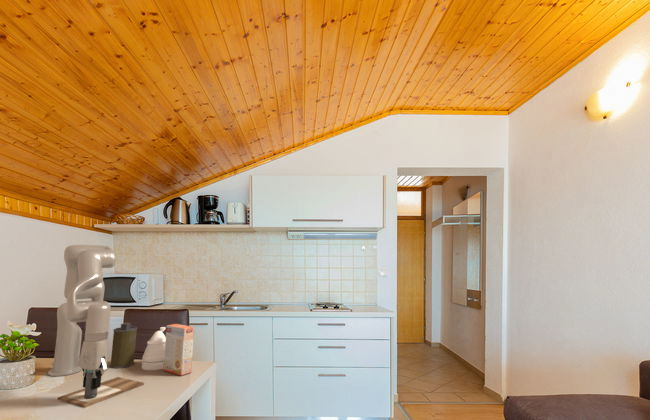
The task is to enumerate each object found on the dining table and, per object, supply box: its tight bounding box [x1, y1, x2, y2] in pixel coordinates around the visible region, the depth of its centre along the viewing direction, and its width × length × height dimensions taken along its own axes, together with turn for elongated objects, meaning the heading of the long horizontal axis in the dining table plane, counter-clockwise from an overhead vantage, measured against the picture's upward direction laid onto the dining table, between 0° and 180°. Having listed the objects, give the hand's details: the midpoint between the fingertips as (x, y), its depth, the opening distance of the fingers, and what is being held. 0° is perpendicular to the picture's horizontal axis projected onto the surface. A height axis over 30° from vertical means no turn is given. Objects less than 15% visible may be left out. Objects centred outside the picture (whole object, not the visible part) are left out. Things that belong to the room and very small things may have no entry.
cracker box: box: [162, 323, 195, 376], centre depth 161 cm, size 14×6×21 cm, turn 58°
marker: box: [84, 370, 99, 398], centre depth 128 cm, size 4×4×12 cm
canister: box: [109, 322, 138, 369], centre depth 169 cm, size 11×10×20 cm
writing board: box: [56, 376, 145, 409], centre depth 135 cm, size 16×24×1 cm, turn 157°
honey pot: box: [141, 326, 167, 371], centre depth 168 cm, size 13×13×18 cm
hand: (91, 386), depth 128 cm, fingers closed on marker, 4 cm apart
